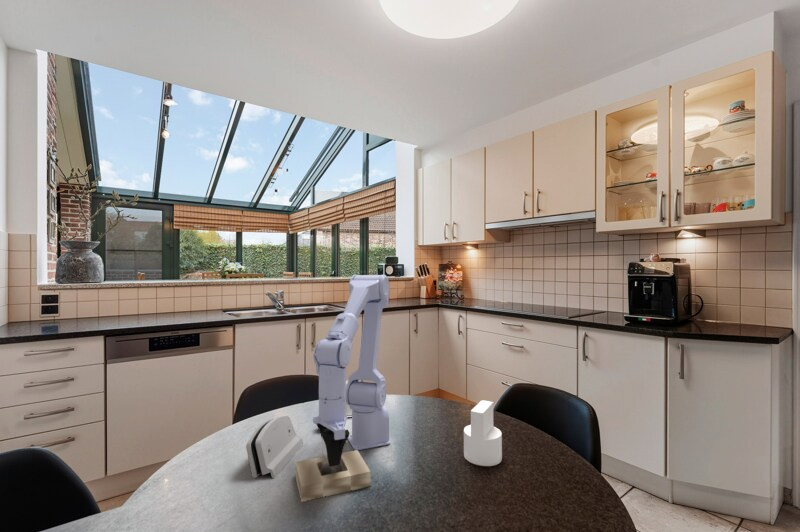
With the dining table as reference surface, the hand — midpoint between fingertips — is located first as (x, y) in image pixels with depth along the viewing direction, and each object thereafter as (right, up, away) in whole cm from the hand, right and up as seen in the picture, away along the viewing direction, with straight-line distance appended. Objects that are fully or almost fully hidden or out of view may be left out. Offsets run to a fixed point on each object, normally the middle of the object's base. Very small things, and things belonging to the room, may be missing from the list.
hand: (332, 459), depth 77 cm
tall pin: (0, -3, 0) cm, 3 cm away
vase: (-1, -6, +38) cm, 38 cm away
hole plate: (0, -4, 0) cm, 4 cm away
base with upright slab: (+35, -5, +10) cm, 36 cm away
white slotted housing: (-15, -5, +9) cm, 19 cm away
